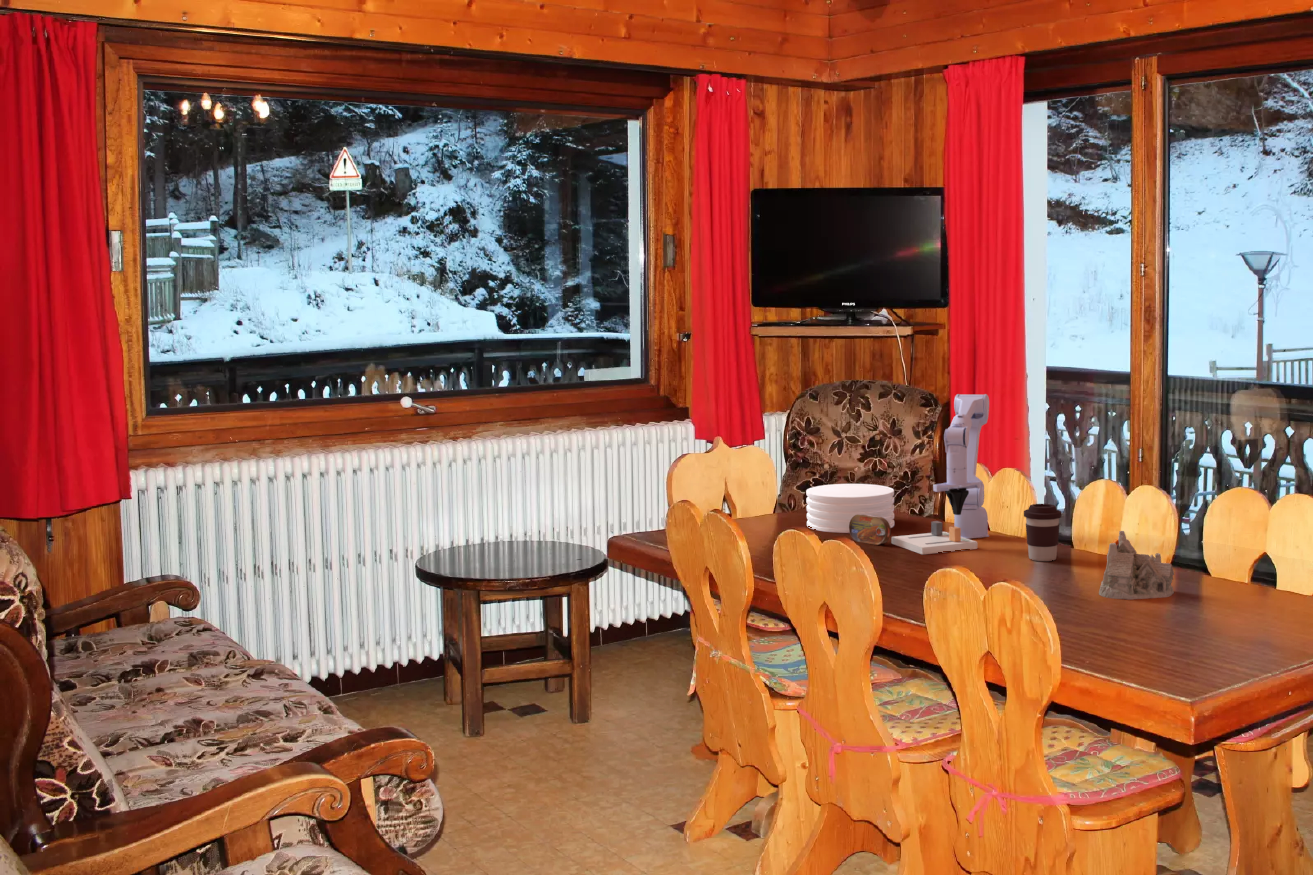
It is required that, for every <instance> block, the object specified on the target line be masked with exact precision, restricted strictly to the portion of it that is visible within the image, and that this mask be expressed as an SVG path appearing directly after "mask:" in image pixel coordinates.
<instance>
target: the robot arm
mask: <svg viewBox="0 0 1313 875" xmlns="http://www.w3.org/2000/svg"><path fill="white" fill-rule="evenodd" d="M953 408H954V409H953V410H954V412H955V413H954V414H955V416H953V419H952V420H951V423H950V426H949V427H948V428H945V430H944V434H943V440H944V441H943V442H944V447H945V451H944V452H945V453H946V482H943V483H936V484H932V485H933V486H932V487H933V488H932V489H933V492H936V493H940V492H944V493H945V495H946V497H947V499H948V503H949V505H950V506H951V510H952V513H953V515H954V517H953V518H954V521H953V522H954V524H953V525H954V526H956V527H959V528H961V537H963V538H966V539H970V540H972V539H977V538H978V539H980V538H988V537H990V534H989V533H988V532H989V531H988V530H989V529H988V528H989V526H988V524H989V523H988V521H989V520H988V519H989V517H988V512H987V509H986V508H985V507H983V505H984V502H985V484H984V482H983V481H982V480H981V479H980V478H979V477H978V476H977V469H978V468H977V465H978V455H979V445H980V435H981V430H982V427H983V426H984V425H986V424H987V423H988V420H989V413H990V398H989V395H988V394H987V393H984V394H960V393H957V394H956V395H954V401H953ZM954 526H953V527H954Z"/></svg>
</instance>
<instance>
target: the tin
mask: <svg viewBox="0 0 1313 875" xmlns="http://www.w3.org/2000/svg"><path fill="white" fill-rule="evenodd" d="M849 531H850V533H849V534H850V537H851V538H852V540H854V541H855V542H856V543H862V544H867V545H868V544H869V545H873V546H880V545H884V544H886V543H887V542H888V541H889V540H890V538H891V528H890V525H889V523H888V521H887V520H886V519H885V518H883V517H877V516H870V515H855V516H853V517H852V519H851V520H850V523H849Z"/></svg>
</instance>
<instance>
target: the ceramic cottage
mask: <svg viewBox="0 0 1313 875" xmlns="http://www.w3.org/2000/svg"><path fill="white" fill-rule="evenodd" d="M1106 561H1107V562H1106V567H1105V570H1104V572H1103V579H1102V580H1101V584H1100V587H1099V591H1098V595H1099V596H1101V597H1103V598H1107V599H1114V600H1115V599H1117V600H1141V599H1142V600H1144V599H1146V600H1147V599H1157V598H1158V599H1159V598H1160V599H1162V598H1168V597H1172V596H1173V595H1174V593H1175V591H1174V587H1173V586H1172V583H1173V580H1174V575H1175V572H1174V568H1173V565H1172V563H1169V562H1162V556H1161V553H1159V552H1158V553H1157V552H1156V553H1155V555H1153V554H1151V555H1149V554H1143V553H1138V552H1137V551H1136V549H1135V548H1134V546H1133V545H1132V544H1131V541H1129V539H1127V535H1126V532H1125V531H1124V530H1120V531H1119V532H1118V546H1117V544H1116V542H1111V543H1109V546H1108V552H1107V555H1106Z"/></svg>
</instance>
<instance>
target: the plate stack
mask: <svg viewBox="0 0 1313 875" xmlns="http://www.w3.org/2000/svg"><path fill="white" fill-rule="evenodd" d="M805 492H806V496H807V497H806V500H805V501H806V504H807V505H806V512H807V513H806V519H807V521H806V526H807V527H808V526H810V527H812V528H810V527H808V528H809V529H811V530H814V529H816V530H815V531H820V532H827V533H838V534H840V533H841V534H850V531H849V523H850V520H851V519H852V517H853V516H855V515H870V516H877V517H883V518H885V519H886V520H887V521H888V523H889V525H890V529H892V528H894V527H895V520H894V519H895V512H894V511H895V505H894V503H895V497H894V495H895V489H894V488H892V487H889V486H886V485H881V484H880V485H879V484H872V483H871V484H870V483H836V484H833V483H832V484H823V485H817V486H813V487H809V488H807V489H806V490H805Z"/></svg>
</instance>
